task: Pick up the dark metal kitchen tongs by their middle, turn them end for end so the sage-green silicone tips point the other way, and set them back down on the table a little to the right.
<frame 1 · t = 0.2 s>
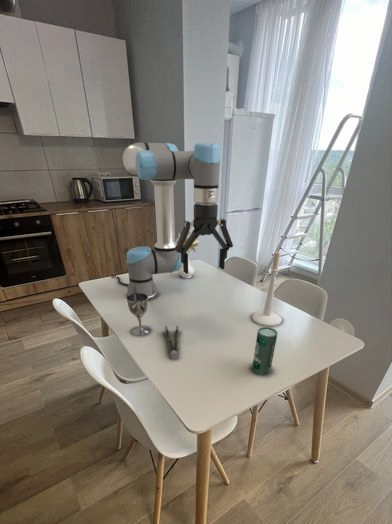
hand: (204, 270, 104), 28 cm above the table, tool pointing down, fingers open, 13 cm apart
wine glass: (140, 331, 123), on the table
tongs: (174, 357, 107), on the table
can: (261, 369, 103), on the table
candlestick: (266, 319, 133), on the table
flower vase: (187, 277, 176), on the table
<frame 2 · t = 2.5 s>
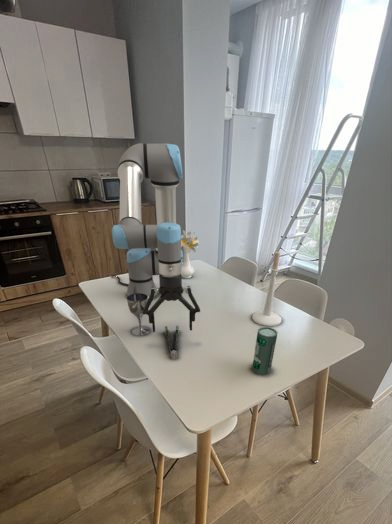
hand: (172, 329, 110), 7 cm above the table, tool pointing down, fingers open, 13 cm apart
nothing on the table moved.
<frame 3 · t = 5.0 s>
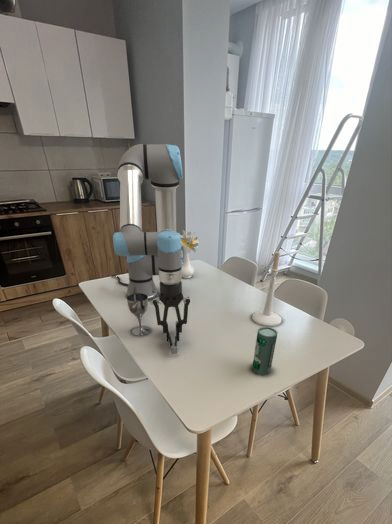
hand: (172, 339, 113), 2 cm above the table, tool pointing down, fingers closed on tongs, 3 cm apart
tongs: (174, 353, 107), point 2 cm above the table, touching gripper
everything else where it was.
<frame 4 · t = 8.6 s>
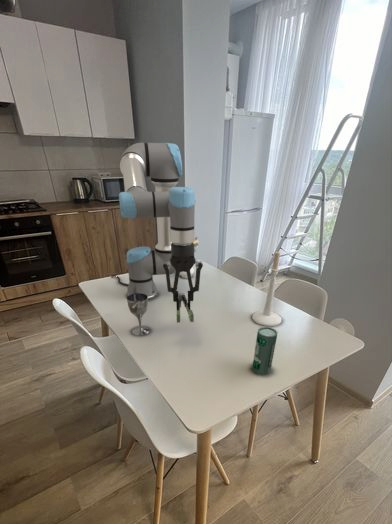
hand: (183, 309, 108), 15 cm above the table, tool pointing down, fingers closed on tongs, 3 cm apart
tongs: (181, 299, 115), point 14 cm above the table, touching gripper
everything else where it was.
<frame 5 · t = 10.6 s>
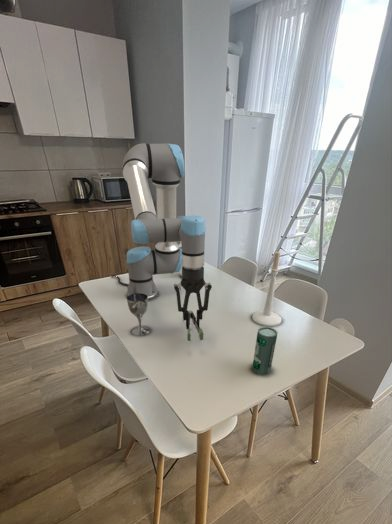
hand: (192, 326, 113), 7 cm above the table, tool pointing down, fingers closed on tongs, 3 cm apart
tongs: (190, 316, 121), point 6 cm above the table, touching gripper
everything else where it was.
when the fingers open (0 cm above the table, at t = 12.5 s): tongs stays where it is, on the table.
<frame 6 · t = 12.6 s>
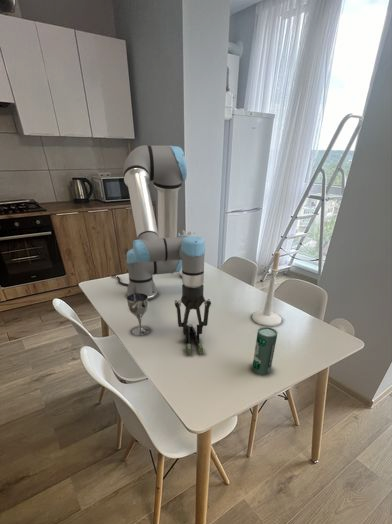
hand: (192, 341, 117), 0 cm above the table, tool pointing down, fingers open, 4 cm apart
tongs: (190, 330, 124), on the table, touching gripper
everything else where it was.
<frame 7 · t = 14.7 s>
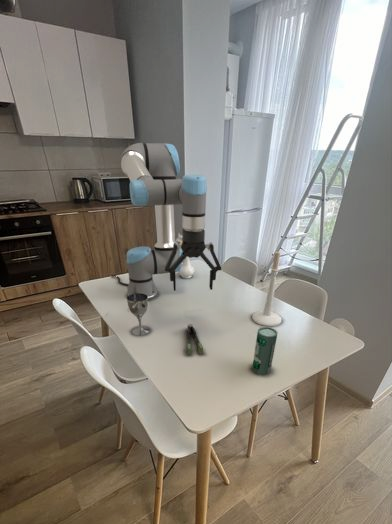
hand: (192, 288, 111), 19 cm above the table, tool pointing down, fingers open, 13 cm apart
tongs: (190, 330, 124), on the table
everything else where it was.
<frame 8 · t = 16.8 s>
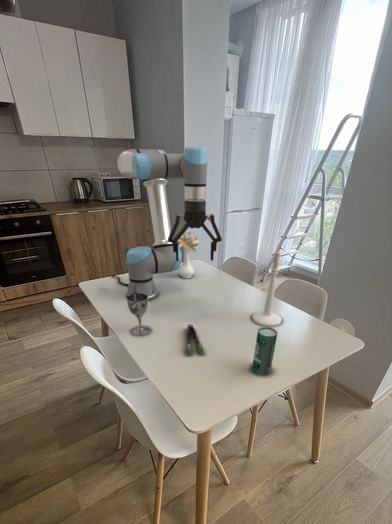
hand: (194, 260, 116), 27 cm above the table, tool pointing down, fingers open, 13 cm apart
nothing on the table moved.
at the end: tongs 0.3 cm from the target spot, on the table; tongs tilted 0°; the gripper is holding nothing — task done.
